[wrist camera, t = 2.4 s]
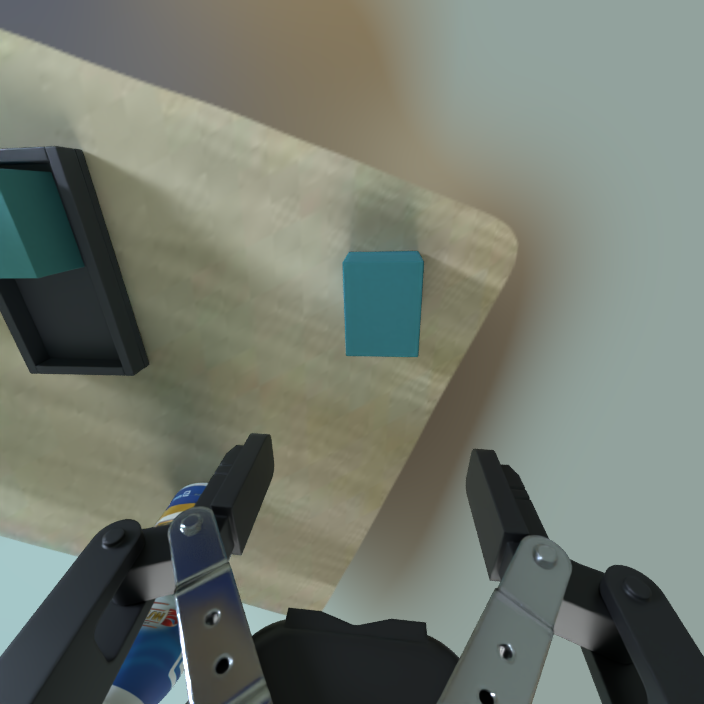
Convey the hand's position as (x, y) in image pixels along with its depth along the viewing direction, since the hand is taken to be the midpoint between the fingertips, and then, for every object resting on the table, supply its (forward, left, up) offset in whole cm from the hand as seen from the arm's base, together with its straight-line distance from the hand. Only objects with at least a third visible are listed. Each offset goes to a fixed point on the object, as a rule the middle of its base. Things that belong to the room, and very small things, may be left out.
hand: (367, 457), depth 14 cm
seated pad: (+25, -8, -14) cm, 30 cm away
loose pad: (0, -2, -15) cm, 15 cm away
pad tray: (+25, -4, -15) cm, 29 cm away
